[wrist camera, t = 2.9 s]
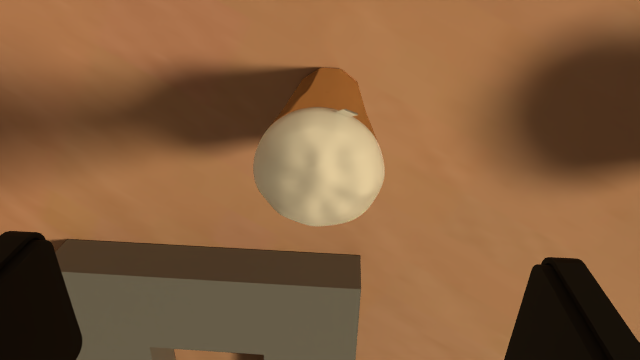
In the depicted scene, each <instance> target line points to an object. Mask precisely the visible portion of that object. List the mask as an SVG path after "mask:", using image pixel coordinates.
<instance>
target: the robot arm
mask: <svg viewBox="0 0 640 360" xmlns="http://www.w3.org/2000/svg"><path fill="white" fill-rule="evenodd" d="M81 348H82V334H81V331H80V328H79V325H78V322H77V319H76V316H75V313H74V310H73V307H72V303H71V300H70V297H69V294H68V291H67V288H66V285H65V282H64V279H63V275H62V272H61V269H60V266H59V263H58V260H57V257H56V254H55V251H54V248H53V245H52V243H51V242H50V241H47V240H45V238H44V236H43V235H42V234H41V233H37V232H18V231H8V232H5V233H3V234H2V235H0V360H76V359H77V357H78V355H79V354H80V351H81ZM504 360H640V343H639V341H638V340H637V339H636V338H635V336H634V335H633V333H632V332H631V330H630V329H629V327H628V326H627V325H626V323H625V322H624V320H623V319H622V317H621V316H620V314H619V313H618V312H617V310H616V309H615V307H614V306H613V304H612V303H611V301H610V300H609V299H608V297H607V296H606V294H605V293H604V291H603V290H602V288H601V287H600V286H599V284H598V283H597V281H596V280H595V278H594V277H593V275H592V274H591V273H590V271H589V270H588V268H587V267H586V265H585V264H584V263H583V262H582V261H581V260H579V259H573V258H552V257H548V258H545V259H544V260H543V261H542V264H541V265H535V266H534V267H533V268H532V271H531V274H530V277H529V280H528V284H527V287H526V290H525V293H524V297H523V300H522V303H521V306H520V310H519V313H518V316H517V319H516V323H515V326H514V329H513V332H512V336H511V339H510V342H509V346H508V349H507V352H506V355H505V359H504Z"/></svg>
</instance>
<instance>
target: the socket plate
mask: <svg viewBox="0 0 640 360" xmlns="http://www.w3.org/2000/svg"><path fill="white" fill-rule="evenodd" d="M55 254H56V257H57V260H58V263H59V266H60V269H61V272H62V275H63V279H64V282H65V285H66V288H67V291H68V294H69V297H70V300H71V303H72V307H73V310H74V313H75V316H76V319H77V322H78V325H79V328H80V331H81V334H82V348H81V351H80V354H79V355H78V357H77V359H76V360H176V359H175V353H174V349H185V350H200V351H215V352H231V353H246V354H261V355H264V360H355V358H356V345H357V332H358V320H359V307H360V295H361V269H360V255H342V254H324V253H306V252H288V251H270V250H251V249H233V248H215V247H197V246H179V245H161V244H143V243H125V242H107V241H89V240H71V239H67V240H66V241H65V242H64V243H63V244H62V246H61V247H60V248H59V249H58V250H57V251H56V252H55Z"/></svg>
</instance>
